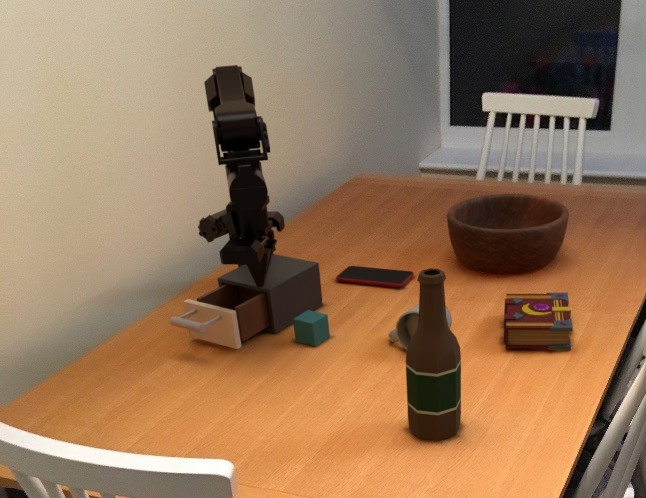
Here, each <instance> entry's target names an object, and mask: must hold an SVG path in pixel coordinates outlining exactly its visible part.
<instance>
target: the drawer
mask: <svg viewBox="0 0 646 498" xmlns="http://www.w3.org/2000/svg"><path fill="white" fill-rule="evenodd" d="M183 306H184V312H185V313H183V314H182V315H180V316H175V315H173V316H171V317H170V319H169V324H170V325H171V326H174V327H178V328H181V329H185V330H188V332H189V336H190V338H194V339H198V340H202V341H206V342H209V343H213V344H216V345H221V346H224V347H228V348H231V349H236V350H238V349H240V348H241V347H242V342H245V341H247V340H248V339H250V338H252V337H254V336H255V335H256V334H258V333H260V332H262V331H263V329H265V328H267V327H269V326H270V325H271V321H270V314H269V307H268V300H267V293H266V292H262V291H257V290H253V289H248V288H244V287H239V286H235V285H230V284H224V285H222V286H220V287H219V286H217V287H216V288H214V289H211V290H210V291H208V292H206V293H204V294H202V295H200V296H198V297H196V299H195V300H194V299H189V298H187V299H186V300H184V301H183Z"/></svg>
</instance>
